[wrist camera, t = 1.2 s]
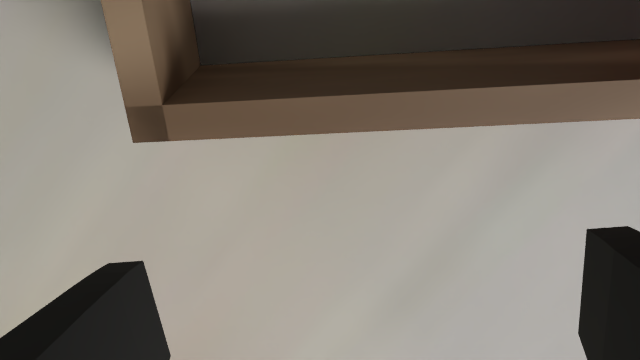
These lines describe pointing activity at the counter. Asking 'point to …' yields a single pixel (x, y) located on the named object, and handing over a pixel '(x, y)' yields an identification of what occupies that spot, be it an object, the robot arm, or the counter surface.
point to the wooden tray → (355, 84)
